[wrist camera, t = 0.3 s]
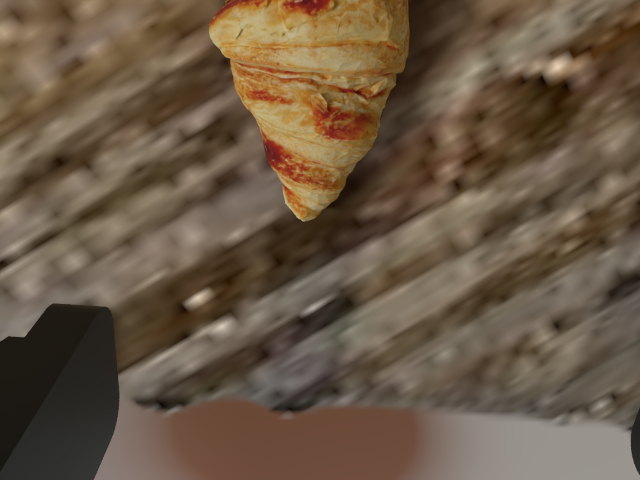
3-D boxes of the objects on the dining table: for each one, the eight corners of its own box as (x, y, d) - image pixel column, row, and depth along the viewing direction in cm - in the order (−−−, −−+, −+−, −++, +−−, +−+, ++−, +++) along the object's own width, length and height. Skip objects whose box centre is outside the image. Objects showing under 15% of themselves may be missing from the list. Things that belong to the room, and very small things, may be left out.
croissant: (352, 188, 41) (422, 236, 35) (208, 213, 37) (258, 273, 31) (372, -192, 32) (473, -220, 26) (181, -216, 28) (246, -258, 21)
